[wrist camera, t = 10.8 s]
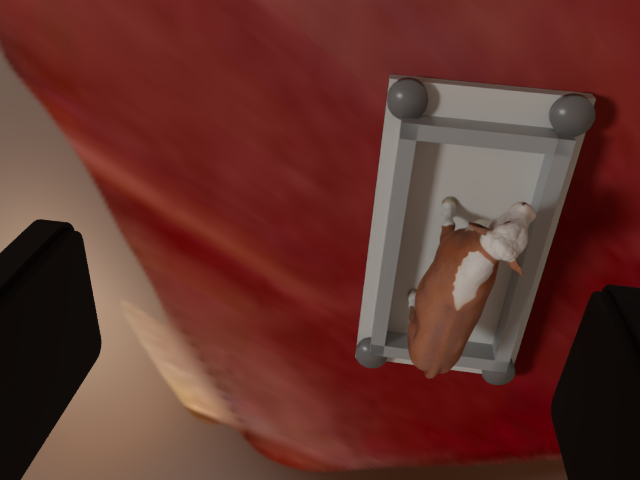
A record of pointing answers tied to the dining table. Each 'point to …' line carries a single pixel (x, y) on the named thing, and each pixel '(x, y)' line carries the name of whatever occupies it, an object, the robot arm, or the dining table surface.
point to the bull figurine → (461, 283)
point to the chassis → (465, 203)
